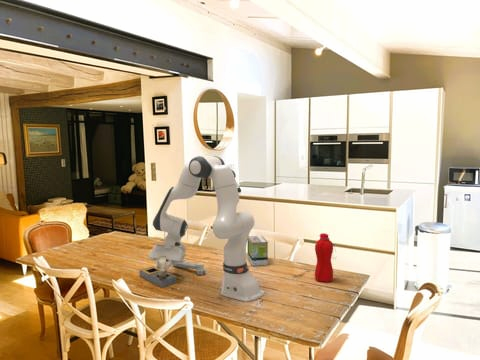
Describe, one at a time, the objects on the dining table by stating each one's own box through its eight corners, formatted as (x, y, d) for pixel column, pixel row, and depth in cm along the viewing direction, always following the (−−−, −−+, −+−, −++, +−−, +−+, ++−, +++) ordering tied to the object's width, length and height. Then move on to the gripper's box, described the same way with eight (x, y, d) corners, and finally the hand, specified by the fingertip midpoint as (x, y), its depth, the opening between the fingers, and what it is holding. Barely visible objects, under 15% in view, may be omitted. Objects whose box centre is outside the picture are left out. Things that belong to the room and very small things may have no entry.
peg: (168, 282, 196) (167, 256, 194) (161, 284, 193) (160, 258, 191) (164, 280, 198) (163, 255, 197) (157, 282, 196) (156, 257, 194)
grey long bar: (177, 258, 222) (206, 261, 206) (179, 269, 222) (208, 272, 206) (171, 261, 218) (200, 263, 202) (172, 272, 218) (201, 275, 202)
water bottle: (335, 284, 189) (335, 237, 186) (313, 281, 193) (314, 235, 190) (336, 277, 197) (337, 232, 194) (316, 275, 201) (316, 231, 198)
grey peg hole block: (176, 282, 195) (176, 276, 194) (162, 287, 188) (161, 280, 188) (153, 271, 211) (153, 265, 210) (139, 276, 205) (139, 269, 204)
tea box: (268, 265, 218) (268, 241, 217) (251, 266, 217) (251, 242, 215) (262, 257, 233) (262, 234, 231) (247, 258, 231) (246, 235, 230)
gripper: (152, 241, 203) (142, 263, 195) (184, 244, 196) (176, 267, 188) (157, 246, 208) (148, 268, 200) (188, 249, 201) (180, 273, 193)
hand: (161, 268), depth 194 cm, fingers closed on peg, 4 cm apart
